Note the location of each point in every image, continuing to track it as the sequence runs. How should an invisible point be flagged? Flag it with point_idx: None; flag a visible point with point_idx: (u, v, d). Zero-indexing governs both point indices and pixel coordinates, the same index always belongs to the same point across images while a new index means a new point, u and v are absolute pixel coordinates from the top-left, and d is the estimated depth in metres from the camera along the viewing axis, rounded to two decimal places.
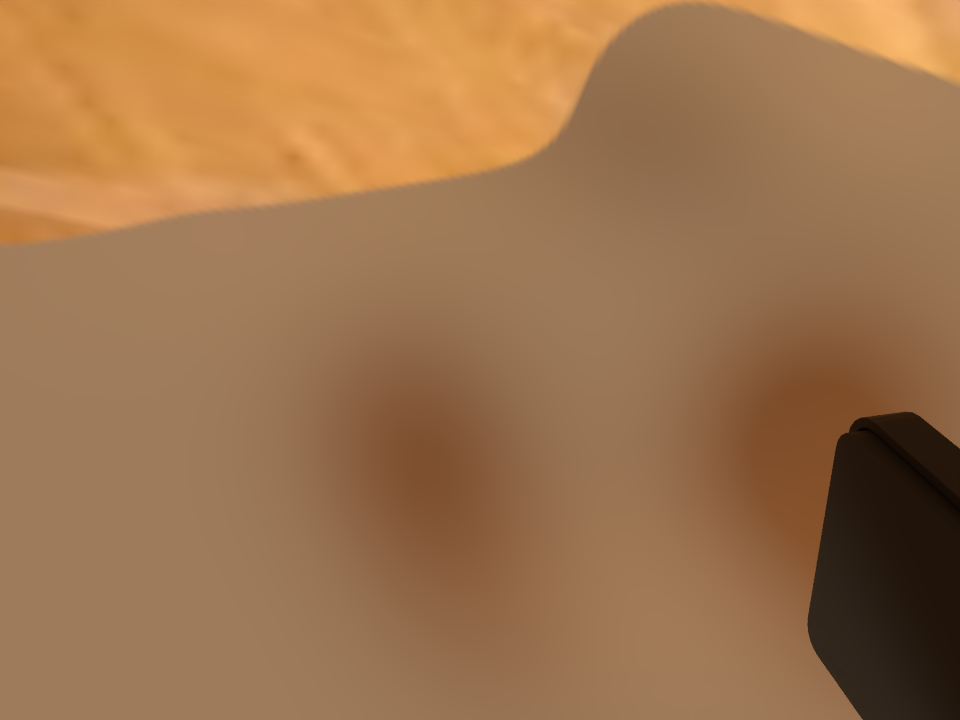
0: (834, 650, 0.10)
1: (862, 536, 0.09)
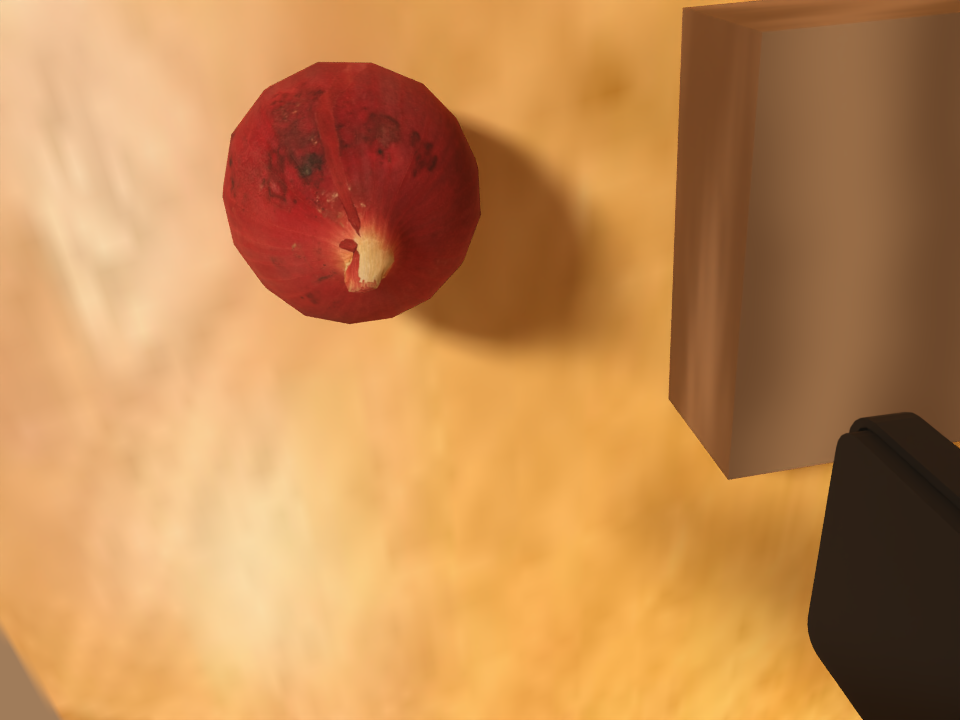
0: (834, 650, 0.10)
1: (862, 536, 0.09)
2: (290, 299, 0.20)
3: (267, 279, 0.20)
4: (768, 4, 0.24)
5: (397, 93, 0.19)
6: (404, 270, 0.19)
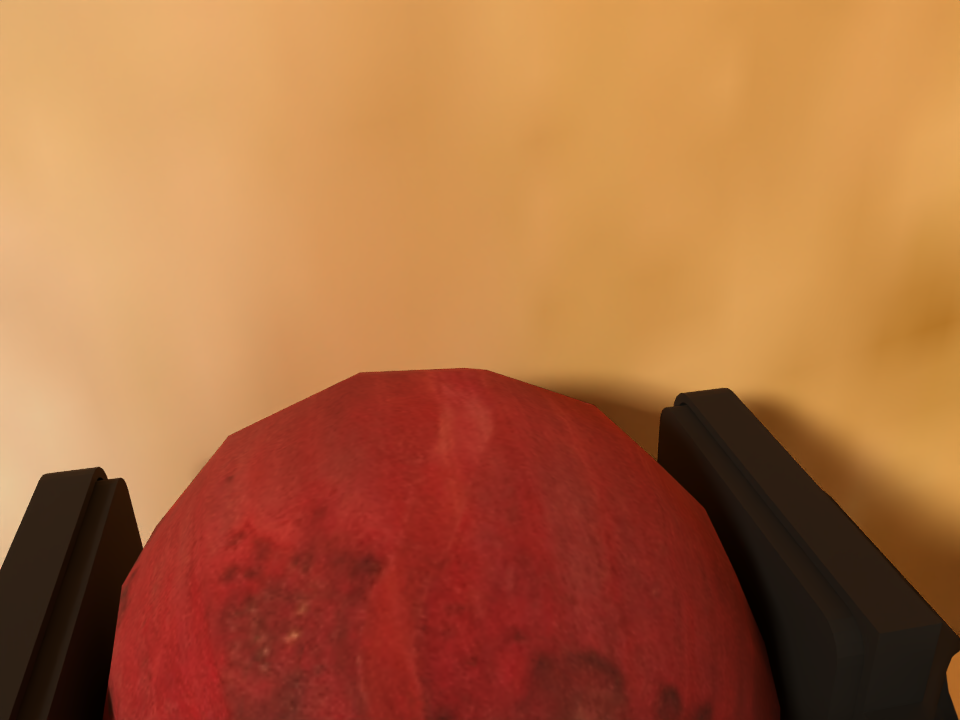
0: None
1: None
2: None
3: None
4: None
5: (596, 536, 0.06)
6: None
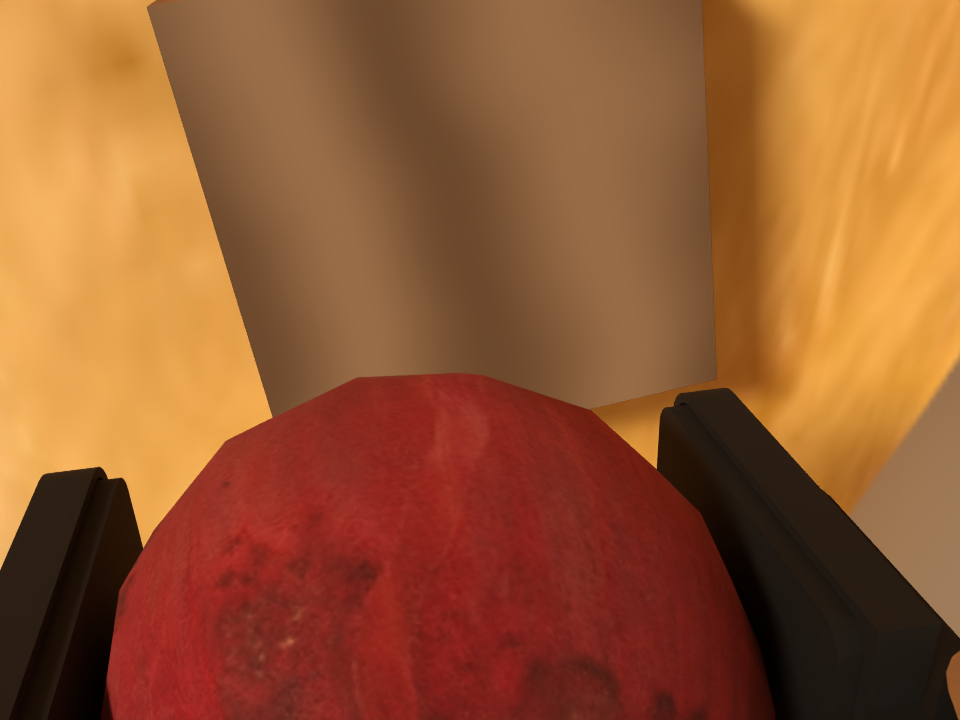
0: None
1: None
2: None
3: None
4: None
5: (591, 542, 0.06)
6: None
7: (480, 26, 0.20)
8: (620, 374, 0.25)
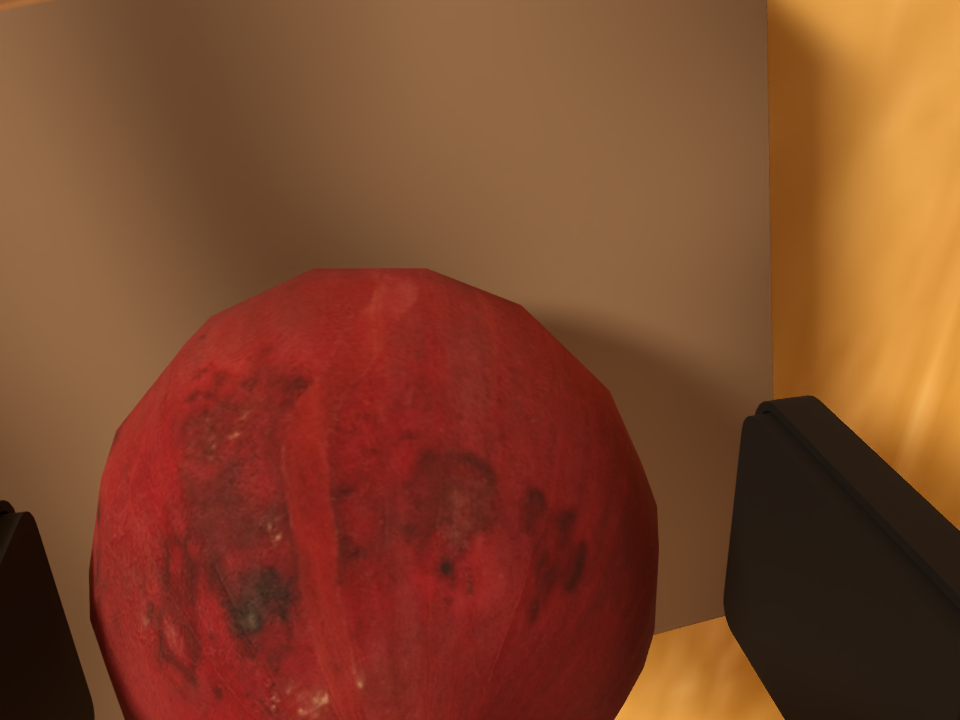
0: (744, 626, 0.11)
1: (763, 515, 0.10)
2: None
3: None
4: None
5: (490, 377, 0.08)
6: None
7: (375, 84, 0.11)
8: None
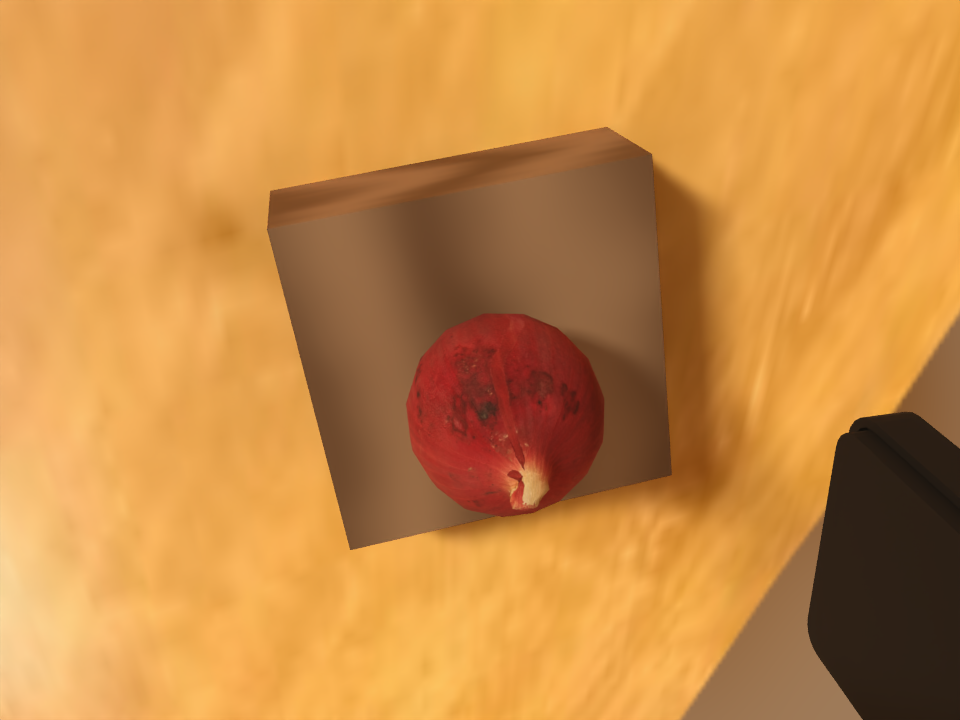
0: (834, 650, 0.10)
1: (862, 536, 0.09)
2: (457, 499, 0.26)
3: (441, 484, 0.26)
4: (329, 184, 0.31)
5: (549, 350, 0.25)
6: (550, 488, 0.24)
7: (497, 235, 0.29)
8: (598, 472, 0.33)
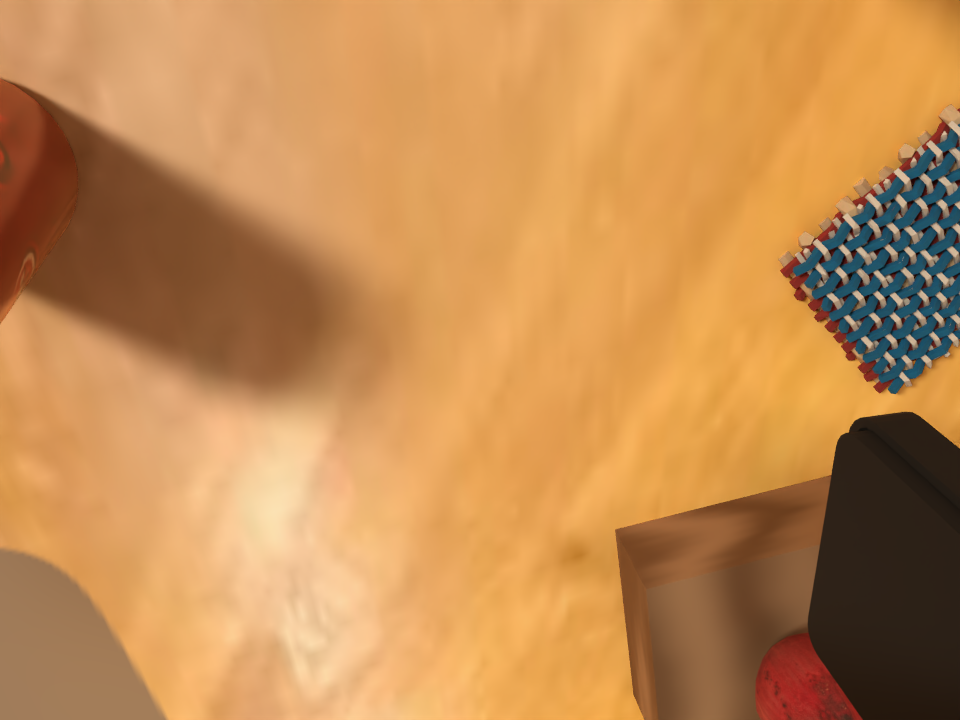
0: (833, 649, 0.10)
1: (862, 536, 0.09)
2: None
3: None
4: (658, 528, 0.46)
5: None
6: None
7: (784, 579, 0.44)
8: None
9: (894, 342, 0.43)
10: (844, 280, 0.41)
